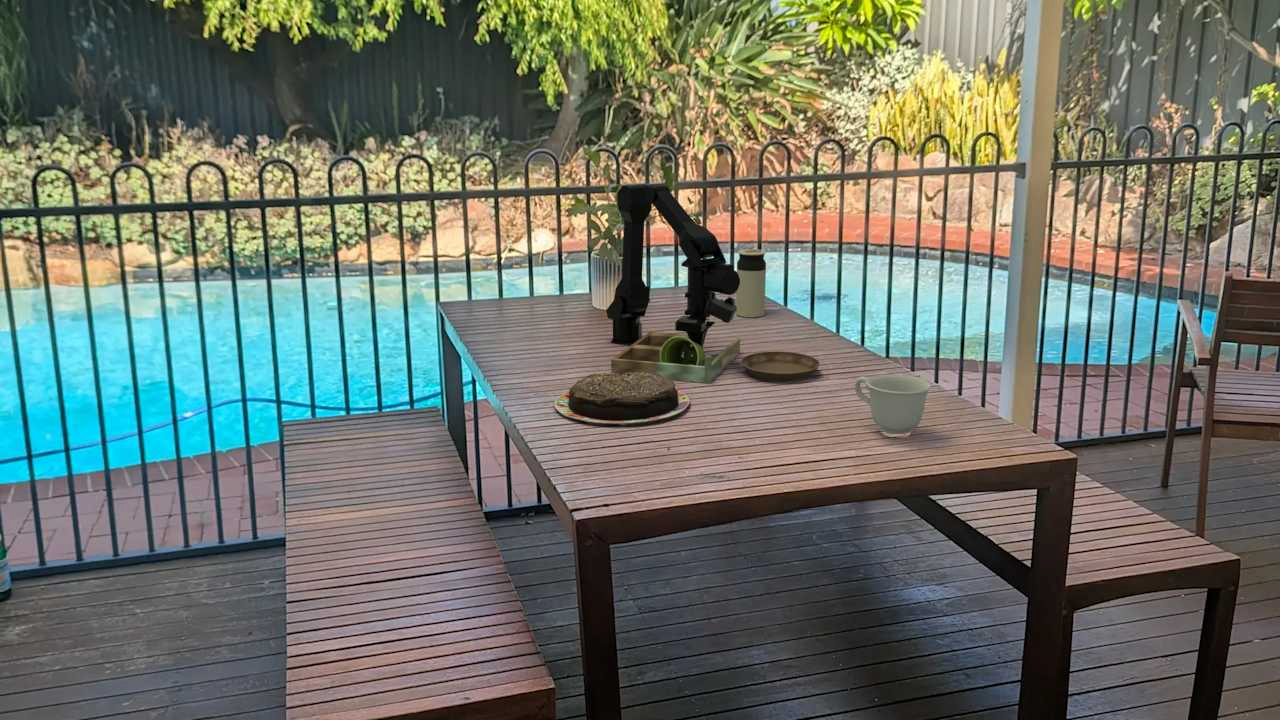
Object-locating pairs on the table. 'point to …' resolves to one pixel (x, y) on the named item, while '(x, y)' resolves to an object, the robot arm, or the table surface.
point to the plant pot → (674, 349)
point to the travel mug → (751, 283)
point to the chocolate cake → (622, 399)
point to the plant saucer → (780, 366)
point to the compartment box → (648, 360)
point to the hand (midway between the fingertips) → (698, 353)
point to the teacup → (895, 401)
